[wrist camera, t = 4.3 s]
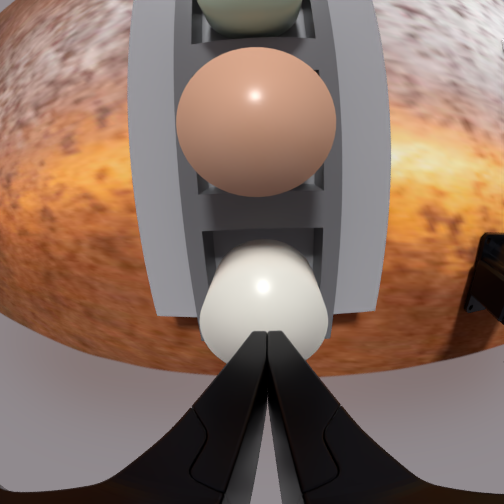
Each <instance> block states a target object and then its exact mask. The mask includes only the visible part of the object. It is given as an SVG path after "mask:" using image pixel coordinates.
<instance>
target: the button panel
mask: <svg viewBox="0 0 504 504" xmlns="http://www.w3.org/2000/svg"><path fill="white" fill-rule="evenodd" d="M249 47H264V48H271V49H276V50H280V51H283V52H286V53H288V54H291V55H293V56H295V57H296V58H298V59H300V60H302V61H303V62H304V63H306V64H307V65H309V66H310V67H311V68H312V69H313V70H314V71H315V72H316V73H317V74H318V75H319V76H320V78H321V79H322V80H323V82H324V83H325V85H326V87H327V88H328V90H329V92H330V95H331V97H332V99H333V103H334V107H335V113H336V132H335V138H334V141H333V145H332V148H331V150H330V152H329V154H328V156H327V158H326V160H325V161H324V163H323V164H322V166H321V167H320V168H319V169H318V170H317V171H316V173H315V174H313V175H312V176H311V177H310V178H309V179H308V180H306V181H305V182H304V183H302V184H301V185H299V186H297V187H295V188H293V189H291V190H289V191H286V192H284V193H281V194H277V195H272V196H265V197H247V196H240V195H236V194H232V193H228V192H226V191H224V190H221V189H219V188H217V187H215V186H214V185H212V184H210V183H209V182H207V181H206V180H205V179H203V178H202V177H201V176H200V175H199V174H198V173H197V172H196V171H195V170H194V169H193V167H192V166H191V165H190V164H189V162H188V161H187V159H186V157H185V155H184V154H183V151H182V149H181V146H180V144H179V140H178V136H177V128H176V115H177V109H178V104H179V101H180V98H181V95H182V93H183V91H184V89H185V87H186V85H187V84H188V82H189V81H190V79H191V78H192V77H193V76H194V75H195V73H196V72H197V71H198V70H199V69H200V68H202V67H203V66H204V65H205V64H206V63H208V62H209V61H211V60H212V59H214V58H216V57H218V56H220V55H222V54H224V53H227V52H229V51H233V50H237V49H241V48H249ZM128 128H129V146H130V159H131V170H132V180H133V189H134V197H135V205H136V212H137V219H138V225H139V231H140V237H141V243H142V249H143V254H144V259H145V264H146V269H147V274H148V279H149V283H150V288H151V292H152V296H153V301H154V305H155V309H156V313H157V316H177V317H197V318H198V324H199V329H200V313H201V309H202V306H203V303H204V301H205V298H206V295H207V293H208V290H209V287H210V285H211V282H212V280H213V277H214V274H215V272H216V269H217V267H218V265H219V263H220V262H221V260H222V259H223V257H224V256H225V255H226V254H227V253H228V252H229V251H231V250H232V249H233V248H235V247H236V246H238V245H240V244H242V243H245V242H248V241H252V240H258V239H271V240H277V241H280V242H284V243H286V244H288V245H290V246H292V247H294V248H295V249H297V250H298V251H299V252H300V253H301V254H302V255H303V256H304V257H305V258H306V259H307V261H308V262H309V264H310V266H311V268H312V270H313V273H314V276H315V279H316V281H317V284H318V287H319V289H320V292H321V295H322V298H323V301H324V303H325V306H326V310H327V314H328V328H327V333H326V335H325V338H324V339H327V338H330V336H331V329H332V321H333V314H342V313H355V312H366V311H375V307H376V302H377V297H378V292H379V286H380V280H381V274H382V267H383V260H384V252H385V244H386V235H387V225H388V213H389V199H390V175H391V136H390V113H389V99H388V88H387V78H386V70H385V63H384V56H383V49H382V43H381V38H380V33H379V28H378V23H377V18H376V14H375V10H374V6H373V2H372V0H302V4H301V7H300V11H299V15H298V18H297V20H296V22H295V23H294V24H293V26H292V27H291V28H289V29H288V30H287V31H286V32H284V33H283V34H281V35H279V36H276V37H262V38H242V39H230V38H227V37H225V36H223V35H221V34H219V33H218V32H216V31H215V30H214V29H213V28H212V27H211V26H210V25H209V24H208V22H207V20H206V18H205V16H204V14H203V12H202V10H201V8H200V6H199V4H198V2H197V0H134V1H133V9H132V17H131V27H130V39H129V55H128ZM200 334H201V340H202V341H204V339H203V336H202V333H201V330H200Z"/></svg>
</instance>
